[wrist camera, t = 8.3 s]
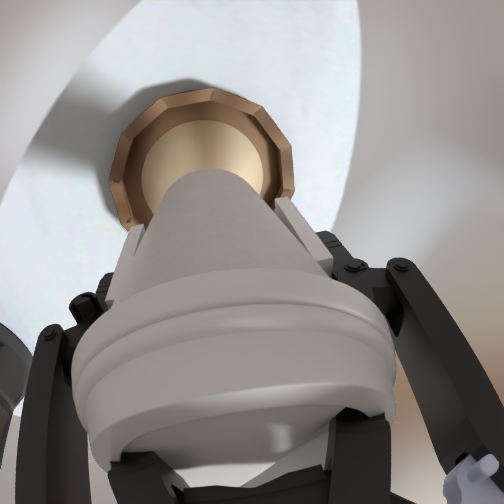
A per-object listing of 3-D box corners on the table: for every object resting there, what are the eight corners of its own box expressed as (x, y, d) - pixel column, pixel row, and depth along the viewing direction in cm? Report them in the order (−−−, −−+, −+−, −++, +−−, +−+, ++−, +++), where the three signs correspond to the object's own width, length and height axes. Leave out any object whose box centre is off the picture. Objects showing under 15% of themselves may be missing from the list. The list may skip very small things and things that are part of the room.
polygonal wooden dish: (141, 268, 30) (139, 278, 28) (97, 113, 22) (91, 115, 20) (293, 238, 31) (298, 246, 30) (280, 78, 23) (286, 78, 22)
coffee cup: (211, 302, 22) (241, 510, 10) (105, 222, 18) (17, 451, 5) (312, 216, 20) (449, 409, 8) (212, 109, 16) (288, 216, 3)
